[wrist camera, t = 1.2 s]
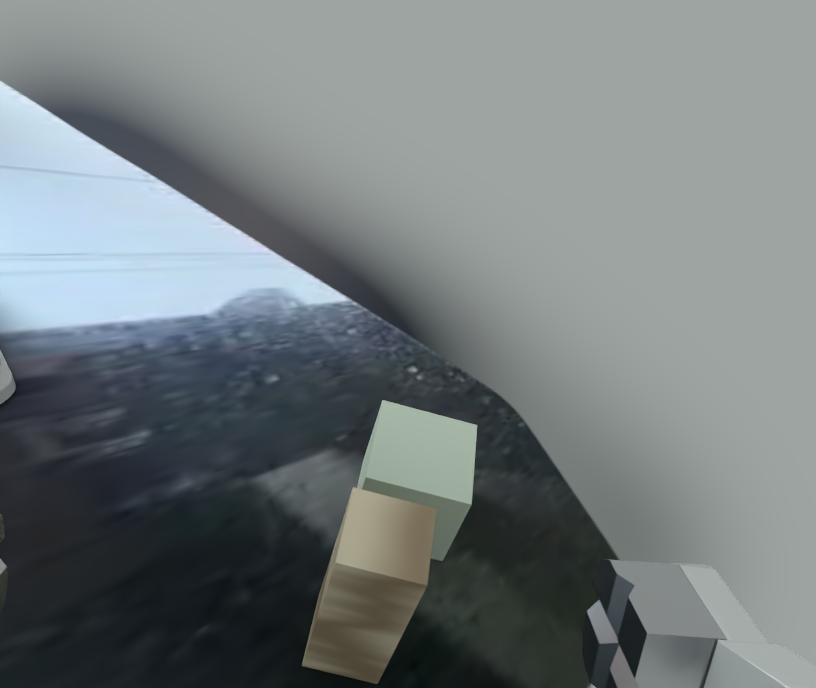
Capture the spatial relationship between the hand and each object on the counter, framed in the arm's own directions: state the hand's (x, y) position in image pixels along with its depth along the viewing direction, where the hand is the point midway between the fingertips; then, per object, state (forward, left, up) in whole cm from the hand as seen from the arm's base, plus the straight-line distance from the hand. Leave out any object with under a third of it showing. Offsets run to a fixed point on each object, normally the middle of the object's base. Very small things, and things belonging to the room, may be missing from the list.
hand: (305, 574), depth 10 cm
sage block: (-16, +17, -28) cm, 36 cm away
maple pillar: (-9, +10, -28) cm, 31 cm away
